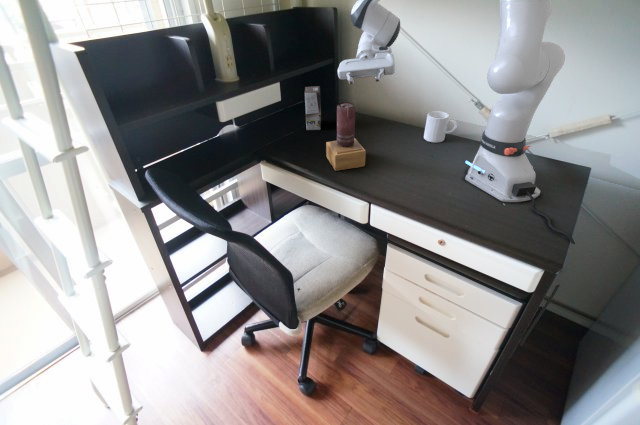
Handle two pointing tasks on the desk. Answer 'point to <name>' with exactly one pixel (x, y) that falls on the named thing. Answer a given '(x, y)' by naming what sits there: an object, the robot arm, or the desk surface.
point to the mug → (437, 126)
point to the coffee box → (313, 108)
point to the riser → (345, 155)
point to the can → (345, 124)
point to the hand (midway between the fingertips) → (363, 81)
